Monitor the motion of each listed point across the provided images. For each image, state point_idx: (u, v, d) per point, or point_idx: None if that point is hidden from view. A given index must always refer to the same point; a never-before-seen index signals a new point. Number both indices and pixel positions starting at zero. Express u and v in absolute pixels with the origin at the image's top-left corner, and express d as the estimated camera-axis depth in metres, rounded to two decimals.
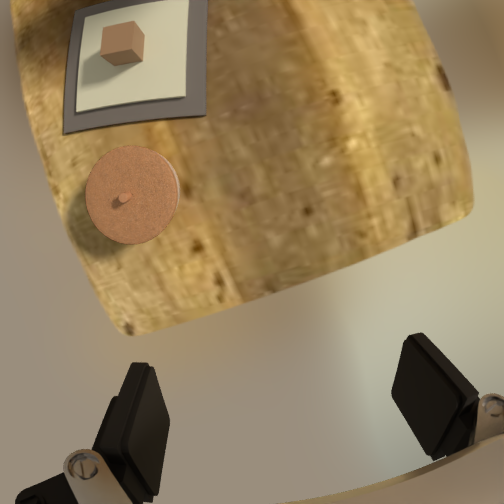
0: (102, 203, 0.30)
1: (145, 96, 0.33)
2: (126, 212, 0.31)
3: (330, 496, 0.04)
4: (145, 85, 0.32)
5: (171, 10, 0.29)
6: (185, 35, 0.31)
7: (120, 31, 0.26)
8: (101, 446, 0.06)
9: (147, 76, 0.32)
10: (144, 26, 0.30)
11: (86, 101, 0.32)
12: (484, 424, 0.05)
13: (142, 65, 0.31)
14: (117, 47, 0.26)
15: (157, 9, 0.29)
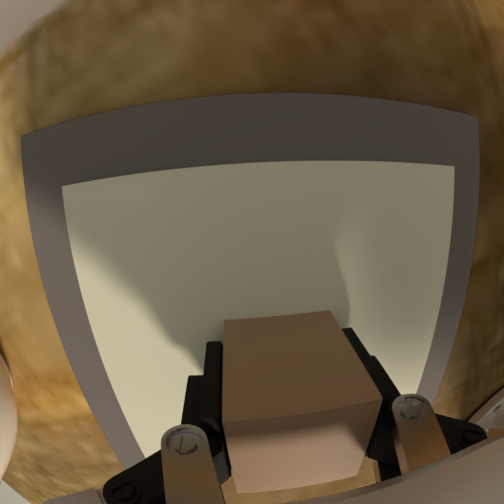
0: None
1: (127, 404, 0.12)
2: None
3: (330, 496, 0.04)
4: (157, 405, 0.12)
5: None
6: None
7: (327, 459, 0.07)
8: (201, 418, 0.07)
9: None
10: None
11: (93, 225, 0.10)
12: (408, 430, 0.06)
13: None
14: (253, 466, 0.07)
15: None
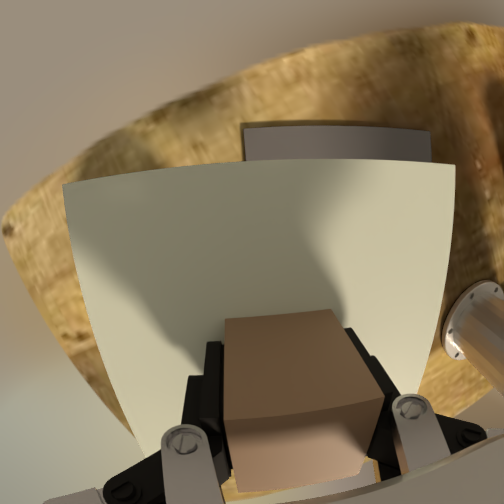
0: None
1: (128, 403, 0.12)
2: None
3: (330, 496, 0.04)
4: (158, 404, 0.12)
5: None
6: None
7: (329, 458, 0.07)
8: (201, 418, 0.07)
9: None
10: None
11: (94, 224, 0.10)
12: (408, 430, 0.06)
13: None
14: (254, 465, 0.07)
15: None
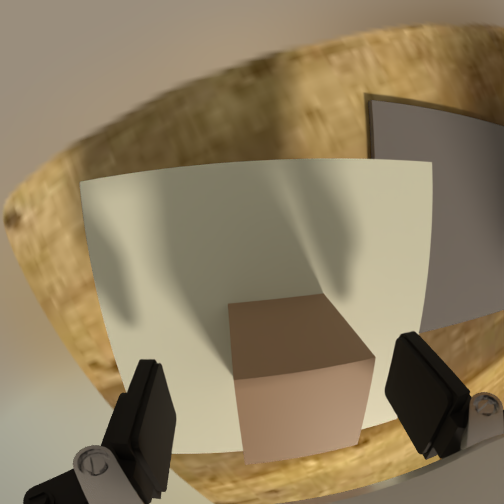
0: None
1: None
2: None
3: (330, 496, 0.04)
4: None
5: (374, 403, 0.15)
6: None
7: (329, 423, 0.08)
8: (111, 442, 0.06)
9: (189, 394, 0.13)
10: None
11: (109, 217, 0.11)
12: (476, 423, 0.05)
13: (223, 381, 0.13)
14: (260, 431, 0.08)
15: None
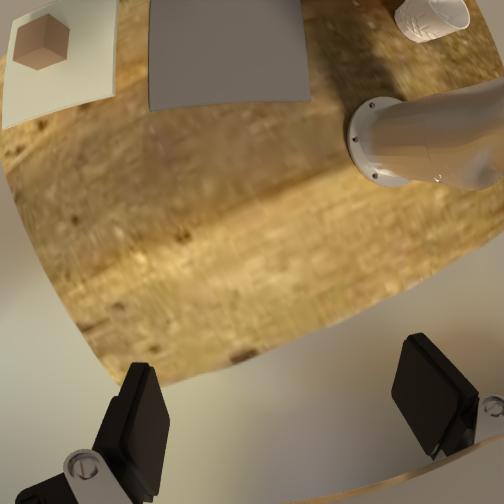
0: None
1: (6, 88, 0.22)
2: None
3: (330, 496, 0.04)
4: (14, 83, 0.22)
5: (94, 79, 0.24)
6: (57, 108, 0.24)
7: (35, 37, 0.17)
8: (101, 446, 0.06)
9: (22, 82, 0.22)
10: (78, 54, 0.22)
11: (17, 27, 0.20)
12: (484, 424, 0.05)
13: (33, 71, 0.22)
14: (19, 43, 0.17)
15: (99, 61, 0.23)
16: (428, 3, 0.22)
